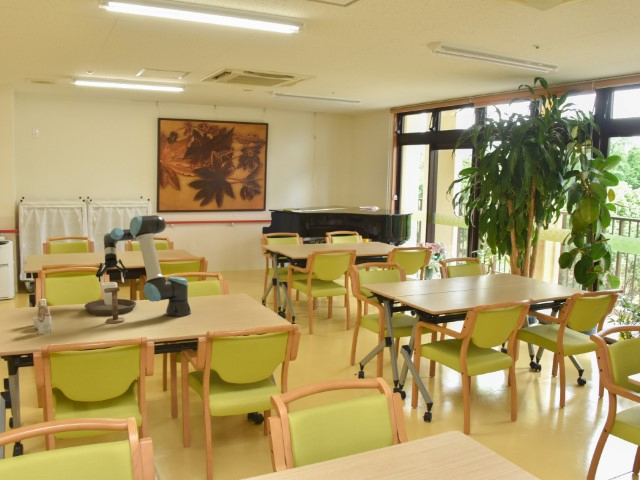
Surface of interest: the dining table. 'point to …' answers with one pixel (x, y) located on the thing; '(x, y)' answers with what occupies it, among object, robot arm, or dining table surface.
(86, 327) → the dining table surface
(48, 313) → the cosmetic set
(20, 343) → the dining table surface
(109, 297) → the foam cup
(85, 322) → the dining table surface
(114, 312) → the walnut post
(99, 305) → the plant saucer
